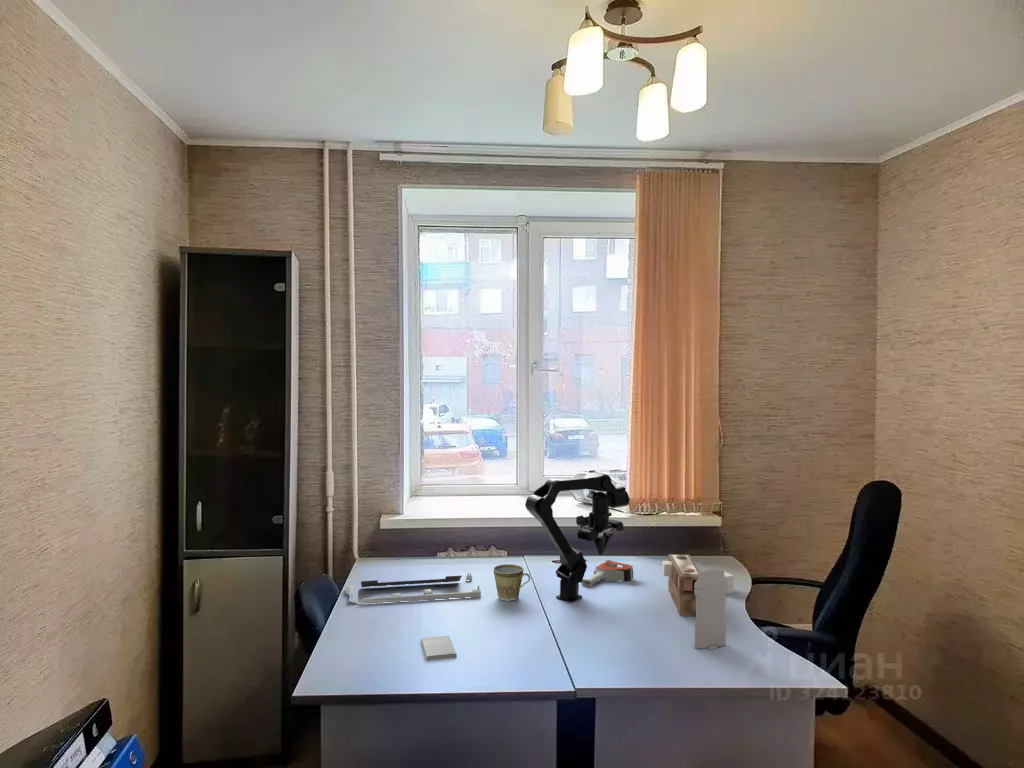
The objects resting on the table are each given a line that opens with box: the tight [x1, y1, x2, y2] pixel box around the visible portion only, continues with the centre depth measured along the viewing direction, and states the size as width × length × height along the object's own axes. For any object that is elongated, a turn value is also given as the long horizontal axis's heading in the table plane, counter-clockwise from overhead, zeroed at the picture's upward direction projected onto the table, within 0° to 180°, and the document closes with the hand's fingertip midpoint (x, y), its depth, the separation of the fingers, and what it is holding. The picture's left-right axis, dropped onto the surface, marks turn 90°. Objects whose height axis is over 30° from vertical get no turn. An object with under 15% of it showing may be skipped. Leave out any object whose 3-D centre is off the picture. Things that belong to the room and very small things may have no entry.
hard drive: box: [420, 635, 458, 661], centre depth 189 cm, size 2×8×12 cm
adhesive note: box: [724, 571, 735, 594], centre depth 237 cm, size 6×6×6 cm
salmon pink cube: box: [678, 576, 693, 591], centre depth 219 cm, size 4×4×4 cm
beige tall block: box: [694, 568, 728, 650], centre depth 191 cm, size 11×4×22 cm, turn 106°
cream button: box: [662, 560, 672, 577], centre depth 233 cm, size 4×4×4 cm
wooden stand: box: [667, 553, 700, 617], centre depth 226 cm, size 7×24×13 cm, turn 176°
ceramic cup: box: [493, 563, 531, 602], centre depth 228 cm, size 13×10×10 cm
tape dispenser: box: [580, 559, 635, 588], centre depth 249 cm, size 18×5×20 cm
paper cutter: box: [344, 572, 482, 604], centre depth 234 cm, size 18×45×6 cm, turn 101°
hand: (600, 554), depth 235 cm, fingers closed
